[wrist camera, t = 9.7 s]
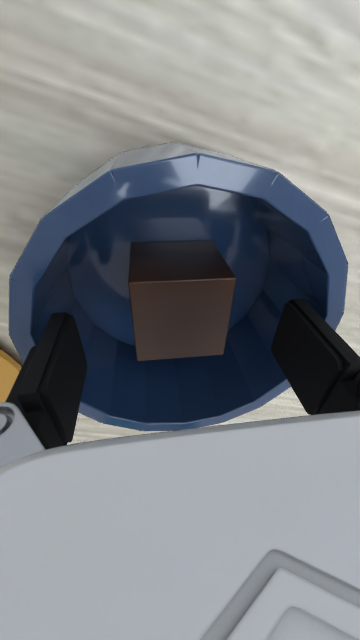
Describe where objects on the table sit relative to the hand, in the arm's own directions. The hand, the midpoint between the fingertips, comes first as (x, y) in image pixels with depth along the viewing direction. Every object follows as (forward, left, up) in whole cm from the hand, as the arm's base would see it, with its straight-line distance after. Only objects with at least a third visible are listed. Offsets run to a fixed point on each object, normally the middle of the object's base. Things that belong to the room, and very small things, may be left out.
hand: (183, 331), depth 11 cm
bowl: (0, 0, -6) cm, 6 cm away
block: (0, 0, -5) cm, 5 cm away
